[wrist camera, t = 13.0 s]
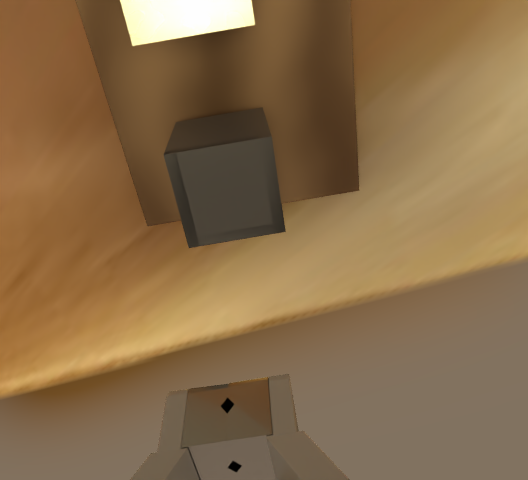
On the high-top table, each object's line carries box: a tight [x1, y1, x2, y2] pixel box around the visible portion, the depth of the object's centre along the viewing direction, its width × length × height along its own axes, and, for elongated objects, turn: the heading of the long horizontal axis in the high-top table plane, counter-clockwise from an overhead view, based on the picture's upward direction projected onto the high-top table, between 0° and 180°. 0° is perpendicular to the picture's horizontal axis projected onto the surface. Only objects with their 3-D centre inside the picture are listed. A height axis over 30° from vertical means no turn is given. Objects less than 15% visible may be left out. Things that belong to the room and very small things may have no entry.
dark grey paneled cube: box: [164, 107, 285, 248], centre depth 25 cm, size 5×5×6 cm
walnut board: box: [75, 0, 359, 226], centre depth 27 cm, size 15×19×1 cm
